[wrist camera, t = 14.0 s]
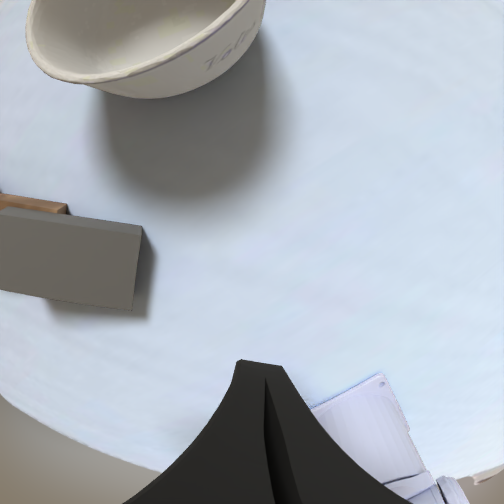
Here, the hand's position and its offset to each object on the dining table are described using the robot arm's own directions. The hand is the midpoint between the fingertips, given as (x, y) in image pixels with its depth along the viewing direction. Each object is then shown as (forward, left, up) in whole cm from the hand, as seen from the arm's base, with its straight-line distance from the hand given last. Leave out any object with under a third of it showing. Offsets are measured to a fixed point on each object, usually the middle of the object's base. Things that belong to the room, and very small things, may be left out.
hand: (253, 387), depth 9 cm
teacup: (+16, -5, -10) cm, 20 cm away
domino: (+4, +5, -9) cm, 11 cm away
